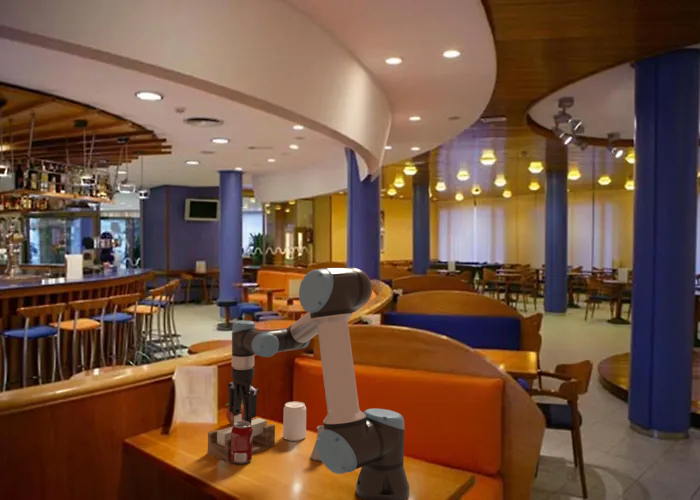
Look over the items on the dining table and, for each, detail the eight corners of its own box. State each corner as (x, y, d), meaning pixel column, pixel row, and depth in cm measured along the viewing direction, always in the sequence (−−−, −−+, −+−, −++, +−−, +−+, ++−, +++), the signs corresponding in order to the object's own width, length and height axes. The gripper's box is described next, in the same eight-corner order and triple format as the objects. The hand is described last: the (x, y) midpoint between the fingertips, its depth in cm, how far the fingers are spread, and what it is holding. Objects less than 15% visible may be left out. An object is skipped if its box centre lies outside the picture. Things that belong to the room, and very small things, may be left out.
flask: (306, 459, 180) (306, 428, 180) (317, 451, 187) (318, 422, 186) (325, 463, 177) (325, 432, 177) (336, 455, 183) (336, 425, 183)
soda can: (247, 466, 174) (249, 429, 173) (226, 463, 175) (228, 426, 174) (254, 457, 180) (256, 421, 180) (234, 455, 181) (236, 419, 181)
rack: (254, 437, 198) (254, 418, 198) (275, 445, 191) (275, 425, 191) (207, 453, 183) (207, 432, 183) (228, 462, 176) (228, 441, 176)
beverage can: (280, 435, 201) (280, 402, 200) (301, 432, 204) (301, 400, 204) (287, 443, 193) (287, 409, 193) (309, 439, 197) (309, 406, 197)
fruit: (248, 428, 207) (248, 402, 207) (222, 428, 206) (222, 402, 206) (251, 421, 215) (252, 395, 215) (227, 421, 215) (227, 395, 215)
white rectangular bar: (259, 429, 195) (259, 417, 195) (266, 431, 193) (266, 420, 193) (217, 443, 182) (217, 431, 182) (224, 446, 179) (224, 434, 179)
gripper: (268, 369, 184) (267, 439, 184) (235, 361, 195) (234, 426, 195) (250, 373, 178) (249, 445, 179) (218, 364, 189) (217, 432, 190)
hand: (242, 435), depth 187 cm, fingers closed on white rectangular bar, 4 cm apart
